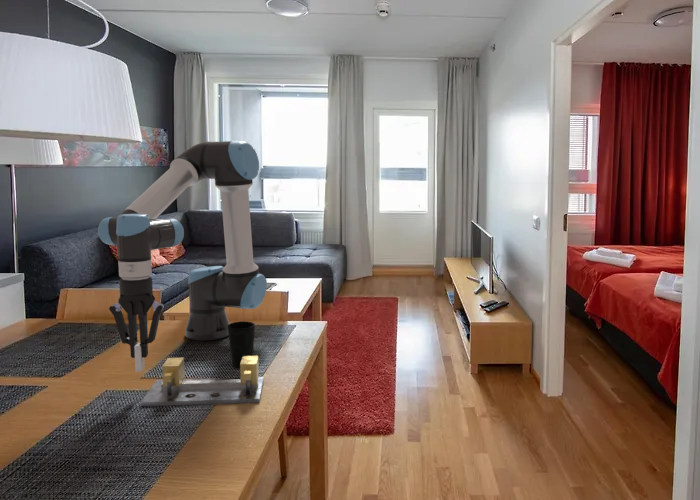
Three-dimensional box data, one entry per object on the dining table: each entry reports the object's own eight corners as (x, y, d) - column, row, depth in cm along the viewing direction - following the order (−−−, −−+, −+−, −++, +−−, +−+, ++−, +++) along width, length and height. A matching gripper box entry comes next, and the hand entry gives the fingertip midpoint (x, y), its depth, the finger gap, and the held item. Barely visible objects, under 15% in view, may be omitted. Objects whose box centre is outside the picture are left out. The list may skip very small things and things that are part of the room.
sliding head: (169, 382, 141) (168, 357, 140) (185, 381, 141) (183, 357, 140) (159, 397, 132) (158, 371, 131) (176, 397, 132) (175, 371, 131)
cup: (249, 371, 153) (248, 329, 151) (224, 369, 154) (223, 328, 153) (259, 361, 160) (258, 322, 159) (235, 359, 162) (234, 320, 160)
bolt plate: (156, 383, 144) (156, 379, 144) (263, 380, 146) (263, 376, 146) (141, 406, 130) (140, 402, 130) (259, 402, 132) (259, 398, 132)
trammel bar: (165, 383, 141) (164, 358, 140) (259, 381, 143) (258, 355, 142) (155, 399, 132) (153, 371, 131) (255, 396, 134) (255, 368, 133)
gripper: (102, 280, 129) (108, 375, 132) (158, 279, 130) (162, 374, 134) (113, 274, 137) (118, 365, 140) (166, 274, 138) (170, 364, 141)
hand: (140, 369), depth 137 cm, fingers closed
